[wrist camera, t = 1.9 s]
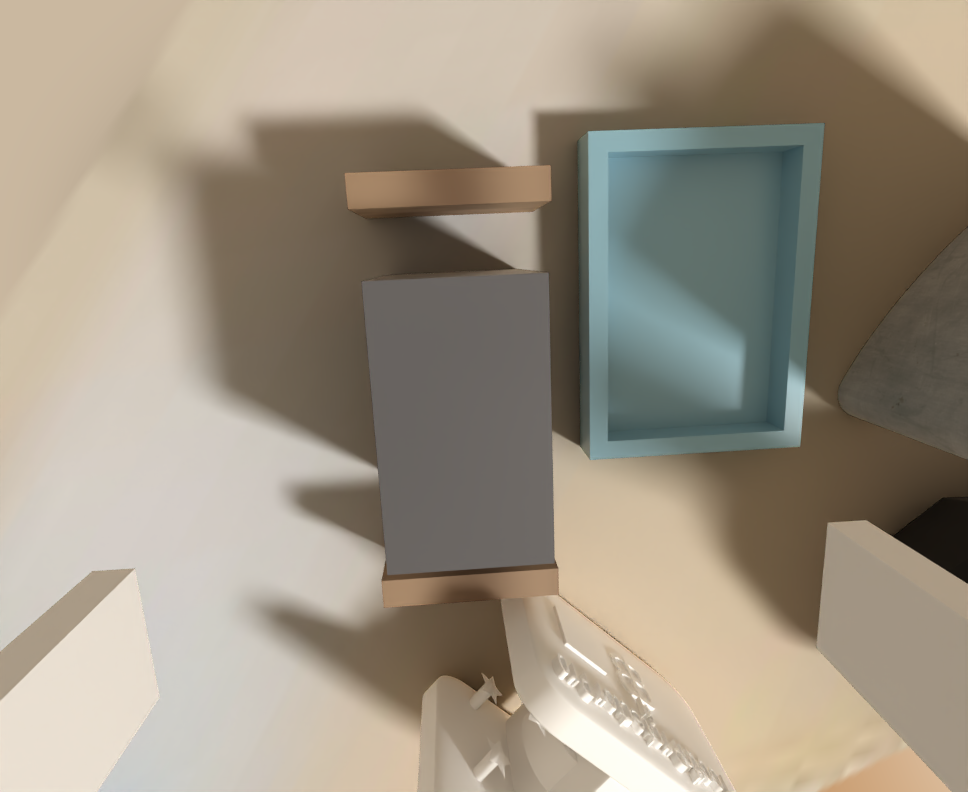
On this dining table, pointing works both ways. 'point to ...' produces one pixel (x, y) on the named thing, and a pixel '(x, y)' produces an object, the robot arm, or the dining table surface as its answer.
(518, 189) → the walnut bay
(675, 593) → the dining table surface
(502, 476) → the grey rectangular block
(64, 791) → the robot arm
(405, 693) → the dining table surface
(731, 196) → the teal tray
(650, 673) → the cable organizer
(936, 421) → the hip flask
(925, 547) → the bottle
